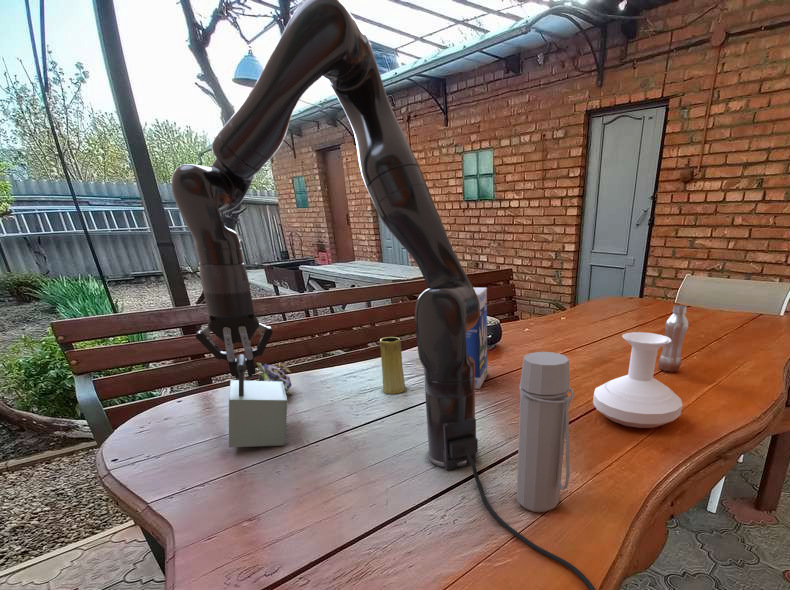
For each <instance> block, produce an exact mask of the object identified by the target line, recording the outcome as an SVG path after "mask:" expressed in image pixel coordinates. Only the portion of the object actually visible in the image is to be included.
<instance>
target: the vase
mask: <svg viewBox="0 0 790 590" xmlns="http://www.w3.org/2000/svg"><path fill="white" fill-rule="evenodd" d="M401 341H402V340H401V338H399V337H397V336H387V337H382V338H380V339H379V348H380V359H381V361H380V362H381V374H382V391H383V392H384V393H386V394H388V395H395V394H396V395H397V394H400V393H401V394H402V393H404V392H405V391H406V390H407V389H406V382H405V374H404V366H403V356H402V355H403V354H402V353H403V352H402V342H401Z"/></svg>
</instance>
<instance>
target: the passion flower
mask: <svg viewBox="0 0 790 590" xmlns="http://www.w3.org/2000/svg"><path fill="white" fill-rule="evenodd" d="M255 365H256V366H257V367H258V368H259V369H260V370H261V372H262V373H259V374H258V375H257V377H258V378H256V379H255V381H278V382H283V384H284V388H285V392H286V396H292V395H293V392H292V391H291V388H292V382H291V377H290V376H289V375H286V373H289V374H292V373H293V371H292V370H291V369H290V368H289V367H288V366H287V365H285V363H283V362H279V363H278V367H277V366H274V365H272V364H270V363H269V364H267V363H264V364H262V363H261V362H256V364H255ZM244 380H246V381H248V379H247V376H245V375H244Z"/></svg>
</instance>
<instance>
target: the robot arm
mask: <svg viewBox="0 0 790 590" xmlns="http://www.w3.org/2000/svg"><path fill="white" fill-rule="evenodd" d="M321 78H322V79H324V81H325V82H326V83H327V84H328V85H329V87H331V89H332V91H333V93H334V94H335V96H336V97H337V100H338V102H339V103H340V105H341V107H342V109H343V111H344V113H345V115H346V117H347V119H348V121H349V123H350V126H351V129H352V131H353V135H354V139H355V144H356V151H357V157H358V158H357V159H358V164H359V169H360V173H361V177H362V179H363V182H364V185H365V188H366V190H367V192H368V194H369V197H370V199H371V201H372V203H373V205H374V209H375V210H376V212H377V214H378V216H379V217H380V219H381V221H382V223H383V224H384V226H385V227H386V228H387V229H388V231H389V232H390V233H391V235H392V236H393V237H394V238H395V239H396V240H397V241H398V242H399V244H400V245H401V246H402V247H403V248H404V250H406V252H407V253H408V254H409V255H410V256H411V258H412V259H413V260H414V262H415V263H416V265H417V267H418V269H419V270H420V272H421V274H422V277H423V279H424V281H425V284H426V286H427V289H425V290H423V292H421V293H420V295H419V296H418V298H417V299H416V303H415V307H414V326H415V335H416V344H417V354H418V358H419V361H420V364H421V365H422V367H423V375H424V377H423V378H424V392H425V393H424V395H425V410H426V411H425V413H426V428H427V445H428V451H427V453H428V460H429V462H430V463H432V464H433V465H435V466H437V467H441V468H443V469H445V470H446V471H450V470H451V471H452V470H453V469H454V470H455V469H457V468H458V469H459V468H461V467H466V466H470V468H471V470H472V473H473V477H474V480H475V483H476V486H477V489H478V491H479V495H480V497H481V501H482V503H483V505H484V507H485V508H486V510H487V511H488V513H489V514H490V515H491V516H492V518H493V519H494V520H495V521H497V523H498V524H499V525H500V526H502V527H503V528H504V529H505V530H506V531H507V532H509V533H510V534H511V535H513V536H514V537H515V538H517V539H518V540H519V541H521V542H522V543H523V544H525V545H526V546H528V547H529V548H530V549H532V550H534V551H535V552H537V553H539V554H541V555H542V556H544V557H546V558H548V559H550V560H552V561H554V562H556V563H558V564H560V565H561V566H563V567H565V568H566V569H568V570H570V571H571V572H572V573H574V575H575V576H577V577H578V578H579V580H581V581H582V583H583V584H584V585H585V586H586V588H587V589H588V590H597V589H596V587H595V585H593V583H592V582H591V581H590V579H588V578H587V576H586V575H585V574H584V573H582V571H581V570H580V569H578V567H576V566H574V565H573V564H572V563H570V562H569V561H567V560H566V559H563V558H562V557H560V556H558V555H556V554H554V553H552V552H550V551H548V550H546V549H544V548H542V547H540V546H539V545H537V544H536V543H534V542H532V541H531V540H529V539H528V538H526V537H525V536H524V535H522V534H521V533H520V532H518V531H517V530H515V528H513V527H512V526H510V525H509V524H508V523H507V522H505V521H504V520H503V519H502V518H501V517H500V516H499V515H498V513H497V512H496V511H495V510H494V509H493V508H492V506H491V504H490V503H489V501H488V499H487V497H486V494H485V492H484V488H483V485H482V483H481V479H480V476H479V473H478V469H477V467H476V463H477V454H478V453H479V449H478V442H479V439H478V438H477V419H476V389H475V362H474V360H473V358H472V357H471V356H469V355H467V346H466V332H467V331H469V330H470V329H472V328H473V327H474V326H475V325H476V323H477V321H478V319H479V316H480V304H479V300H478V297H477V295H476V292H475V290H474V288H475V287H474V286H473V285H472V283H471V281H470V279H469V277H468V275H467V274H466V272H465V269H464V267H463V266H462V264H461V262H460V261H459V259H458V257H457V254H456V252H455V251H454V248H453V247H452V243H451V241H450V239H449V237H448V234H447V231H446V229H445V226H444V224H443V220H442V218H441V216H440V214H439V212H438V210H437V207H436V204H435V202H434V200H433V197H432V195H431V192H430V189H429V186H428V184H427V181H426V180H425V177H424V174H423V172H422V170H421V168H420V165H419V162H418V161H417V160H418V159H417V158H416V156H415V154H414V152H413V149H412V148H411V145H410V143H409V141H408V139H407V137H406V134H405V133H404V131H403V128H402V127H401V125H400V123H399V121H398V119H397V117H396V114H395V113H394V111H393V108H392V106H391V103H390V100H389V97H388V95H387V92H386V89H385V85H384V82H383V79H382V76H381V73H380V70H379V67H378V63H377V60H376V56H375V54H374V50H373V47H372V44H371V42H370V40H369V38H368V36H367V34H366V32H365V31H364V29H363V28H362V26H361V25H360V24H359V22H357V20H356V19H355V17H354V16H353V15H352V14H351V13H350V12H349V10H348V9H347V8H346V7H345V5H344V4H343V3H342V2H341V1H340V0H302V1H301V3H300V4H299V5H298V6H297V8H296V9H295V11H294V13H293V14H292V16H291V18H290V19H289V20H288V23H287V24H286V26H285V28H284V30H283V32H282V34H281V36H280V38H279V40H278V42H277V44H276V46H275V48H274V50H273V51H272V53H271V55H270V57H269V59H268V60H267V62H266V64H265V66H264V68H263V70H262V71H261V73H260V75H259V77H258V79H257V81H256V82H255V85H254V86H253V88H252V90H250V92H249V93H248V95H247V97H246V98H245V99H244V101H243V102H242V104H241V105H240V106H239V107H238V108H237V110H236V111H235V112H234V113H233V115H232V116H231V117H230V119H228V121H227V122H226V123H225V125H224V126H223V127H222V128H221V130H220V131H219V132H218V133H217V134H216V136H215V137H214V139H213V140H212V143H211V150H212V153H213V155H214V157H215V159H214V161H213V163H212V164H210V166H203V165H197V164H193V163H192V164H191V163H185V164H181V165H179V166H178V167H176V168H175V170H174V171H173V173H172V176H171V184H170V185H171V193H172V196H173V199H174V202H175V204H176V207H177V208H178V211H179V213H180V215H181V217H182V219H183V221H184V224H185V225H186V227H187V230H188V231H189V233H190V234H191V235H190V236H191V237H192V239H193V243H194V248H195V253H196V257H197V262H198V267H199V277H200V282H201V287H202V291H203V292H202V293H203V296H204V301H205V306H206V308H207V309H206V310H207V315H208V322H207V326H206V327H205V328H203V329H202V330H200V329H199V330H197V331H196V333H195V338H196V339H197V341H198V342H200V344H202V346H204V348H205V349H207V350H208V352H209V353H211V354H212V356H214V357H215V358H216V359H217V360H223V361H226V362H227V363H228V367H229V368H228V369H229V373H230V375H231V377H232V378H233V377H235V380H239V372H238V371H237V358H236V355H235V347H234V344H236V343H239V344H242V346H243V350H244V355H245V356H246V358H245V359H246V372H247V375H248V378H249V379H251V378H253V377H254V375H256V373H257V370H256V364H255V358H256V357H262V356H263V354H264V352H265V350H266V348H267V346H268V344H269V341H270V339H271V337H272V336H273V333H274V330H273V327H272V326H270V325H265V324H262V323H260V321H259V319H258V318H257V317H256V313H255V309H254V303H253V298H252V293H251V283H250V281H249V276H248V275H249V274H248V273H247V269H246V266H245V262H244V256H243V251H242V246H241V240H240V237H239V235H238V233H237V232H236V231H235V230H233V229H231V228H228V227H227V226H226V225H225V223H224V220H223V218H222V215H221V214H225V213H229V212H231V211H233V210H235V209H236V208H237V207H238V206H239V205H241V203H242V202H243V201H244V199H245V197H246V195H247V193H248V191H249V189H250V188H251V185H252V183H253V181H254V178H255V176H256V175H257V173H259V171H261V170H262V169H263V168H264V166H265V165H266V164H267V163H268V162H269V161H270V160H271V159H272V157H273V156H274V155H275V154H276V153H277V151H278V150H279V149H280V147H281V145H282V144H283V142H284V139H285V137H286V136H287V132H288V129H289V125H290V122H291V120H292V119H291V118H292V117H293V113H294V110H295V108H296V106H297V105H298V102H299V101H300V100H301V98H302V97H303V95H304V94H305V93H306V91H307V90H308V89H309V88H311V86H313V85H314V84H315V83H316V82H317V81H319V79H321ZM257 330H259V331H258V332H259V336H261V337H260V339H259V341H258V343H257V345H256V347H255V348H253V349H252V345H251V340H252V338H253V337H254V335H255V334H256V331H257ZM211 333H212V334H213V335H215V336H216V337H217V338H218V339H219V340H221V342H223V343H224V347H225V351H223V350H222V349H221V348H220V347H219V346H218V345H217V343H215V342H214V340H212V338H213V335H212V334H211Z"/></svg>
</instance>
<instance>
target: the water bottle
mask: <svg viewBox="0 0 790 590" xmlns="http://www.w3.org/2000/svg"><path fill="white" fill-rule="evenodd" d="M518 388H519V391H520V393H519V421H518V449H517V474H516V475H517V477H516V478H517V479H516V501H517V503H518V504H520V505H521V507H522V508H523V509H525V510H527V511H530V512H533V513H545V512H548V511H551V510H553V509H555V508H556V507H557V505H558V504H559V502H560V497H561V490H562V491H566V490H567V488H568V485H569V481H570V476H571V474H570V473H571V471H570V469H571V467H570V423H569V422H570V421H569V418H570V417H569V416H570V415H569V408H570V405H571V402H572V399H574V397H575V392H574V390H573V389H572V388H571V387H570V359H569V358H568V356H567V355H564V354H563V353H558V352H552V351H536V352H530V353H529V352H528V353H527V354H525V355H524V356H523V359H522V366H521V374H520V382H519V385H518ZM569 392H570V394H571V396H569V395H568V393H569ZM564 449H565V450H564ZM564 451H565V480H564V486H562V476H563V475H562V473H563V462H564Z"/></svg>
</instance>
